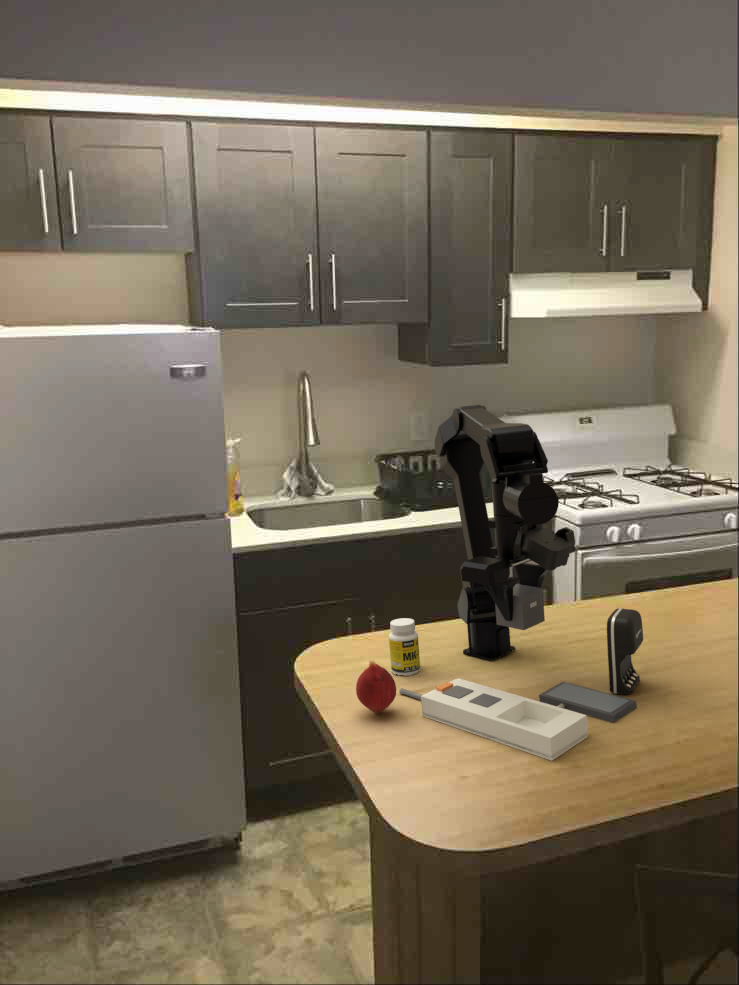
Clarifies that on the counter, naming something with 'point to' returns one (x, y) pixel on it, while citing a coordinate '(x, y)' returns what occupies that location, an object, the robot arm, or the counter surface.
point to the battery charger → (623, 649)
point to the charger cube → (524, 608)
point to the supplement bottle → (404, 647)
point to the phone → (588, 701)
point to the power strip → (504, 717)
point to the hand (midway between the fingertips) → (520, 615)
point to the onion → (376, 688)
